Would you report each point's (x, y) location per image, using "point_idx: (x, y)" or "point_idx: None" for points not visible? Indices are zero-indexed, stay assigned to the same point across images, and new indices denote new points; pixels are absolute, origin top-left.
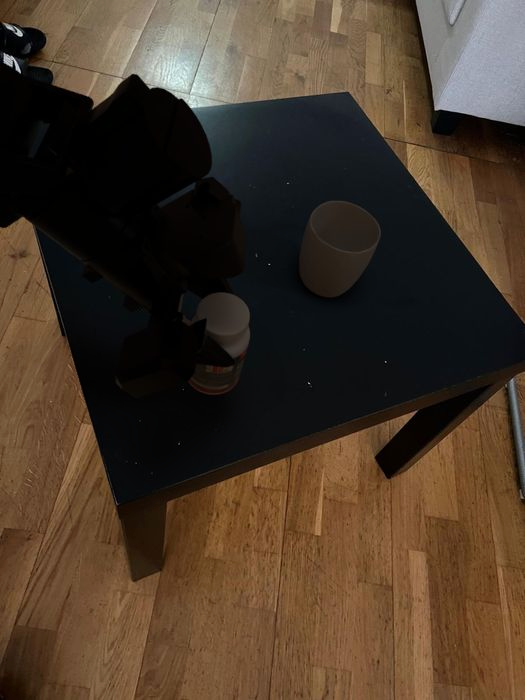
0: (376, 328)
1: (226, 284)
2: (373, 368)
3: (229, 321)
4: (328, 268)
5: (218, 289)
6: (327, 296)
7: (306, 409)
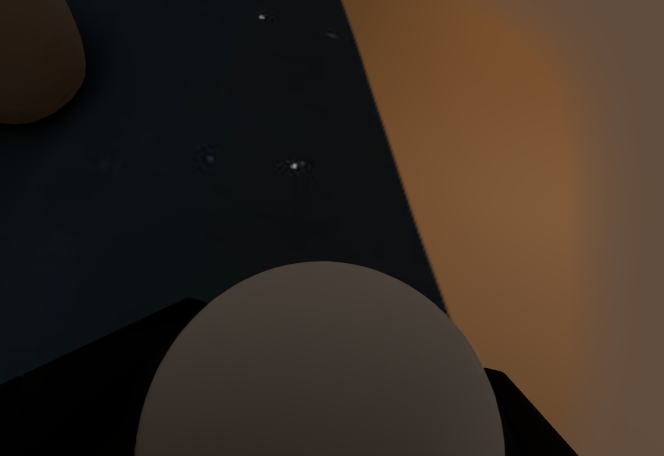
0: (181, 12)
1: (66, 377)
2: (273, 40)
3: (392, 404)
4: (15, 23)
5: (93, 437)
6: (81, 79)
7: (354, 183)
